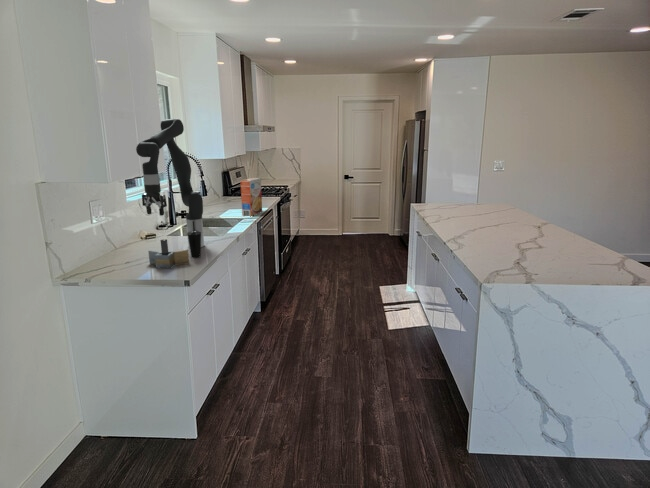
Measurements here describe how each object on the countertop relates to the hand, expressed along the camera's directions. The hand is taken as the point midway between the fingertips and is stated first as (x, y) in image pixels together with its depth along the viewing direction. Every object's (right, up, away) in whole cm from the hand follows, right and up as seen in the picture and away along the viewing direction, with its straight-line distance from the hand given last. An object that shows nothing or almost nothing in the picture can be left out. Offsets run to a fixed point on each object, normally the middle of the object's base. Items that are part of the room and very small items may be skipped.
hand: (155, 214), depth 219 cm
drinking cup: (+15, -22, +18) cm, 33 cm away
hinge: (+5, -26, +3) cm, 27 cm away
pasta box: (+25, +10, +146) cm, 148 cm away
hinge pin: (+5, -27, +1) cm, 27 cm away
